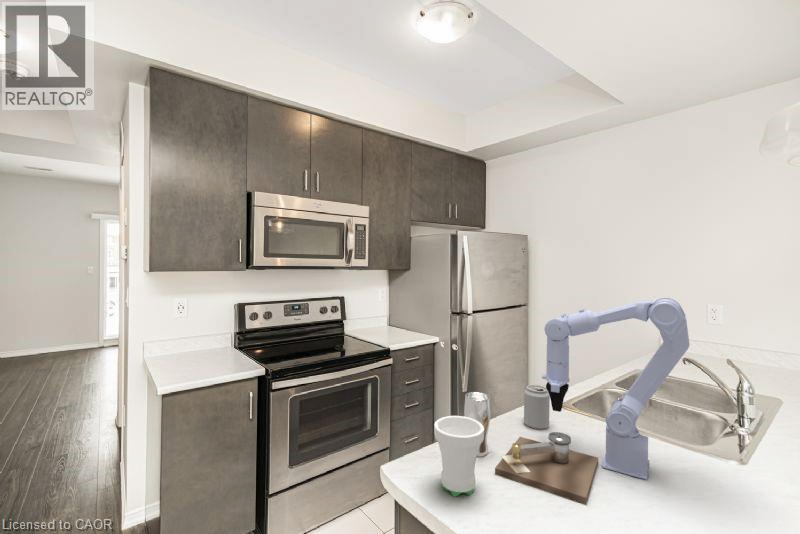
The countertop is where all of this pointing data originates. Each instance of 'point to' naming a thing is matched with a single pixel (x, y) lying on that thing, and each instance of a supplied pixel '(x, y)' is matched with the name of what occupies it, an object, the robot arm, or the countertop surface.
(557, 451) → the grey bar with knobs
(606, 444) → the robot arm
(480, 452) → the beer glass
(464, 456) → the cup
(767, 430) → the countertop surface
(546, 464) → the brown flat wooden board
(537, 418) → the can
